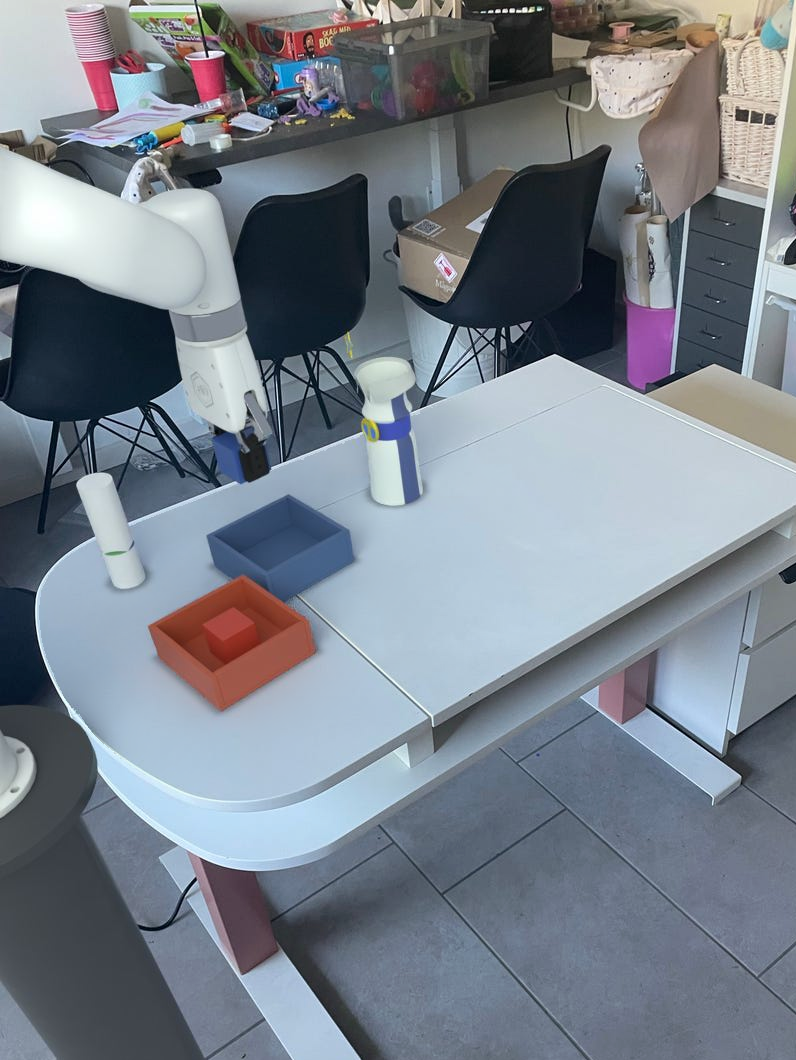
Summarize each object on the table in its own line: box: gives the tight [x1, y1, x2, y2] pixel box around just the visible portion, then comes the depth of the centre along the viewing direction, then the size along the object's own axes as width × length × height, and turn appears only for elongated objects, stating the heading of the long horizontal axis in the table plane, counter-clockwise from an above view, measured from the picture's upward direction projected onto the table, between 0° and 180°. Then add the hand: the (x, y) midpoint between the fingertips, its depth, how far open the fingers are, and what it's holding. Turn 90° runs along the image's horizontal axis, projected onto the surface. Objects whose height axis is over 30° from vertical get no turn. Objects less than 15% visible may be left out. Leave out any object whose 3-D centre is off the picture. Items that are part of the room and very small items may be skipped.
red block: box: [202, 607, 260, 665], centre depth 110 cm, size 4×4×4 cm
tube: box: [75, 472, 147, 590], centre depth 120 cm, size 4×4×15 cm
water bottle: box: [344, 331, 424, 507], centre depth 130 cm, size 8×9×25 cm
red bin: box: [147, 575, 317, 712], centre depth 111 cm, size 13×13×5 cm
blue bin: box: [205, 493, 355, 603], centre depth 125 cm, size 13×13×5 cm
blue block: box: [211, 428, 273, 485], centre depth 110 cm, size 4×4×4 cm
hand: (244, 468), depth 111 cm, fingers closed on blue block, 4 cm apart
